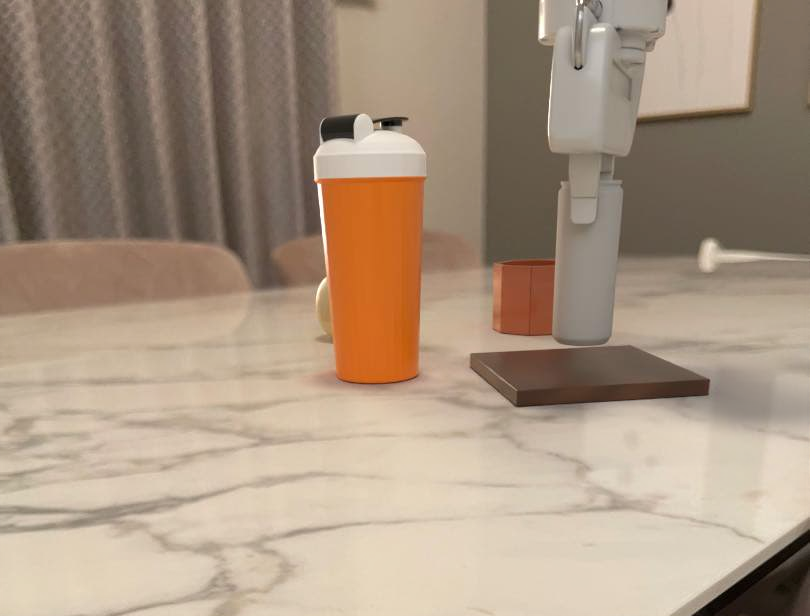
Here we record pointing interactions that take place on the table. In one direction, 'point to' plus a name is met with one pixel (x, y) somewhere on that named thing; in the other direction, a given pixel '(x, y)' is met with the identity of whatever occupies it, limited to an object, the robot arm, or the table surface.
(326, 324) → the apple
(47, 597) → the table surface
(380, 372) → the shaker bottle
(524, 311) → the crock
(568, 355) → the board
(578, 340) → the beverage can
